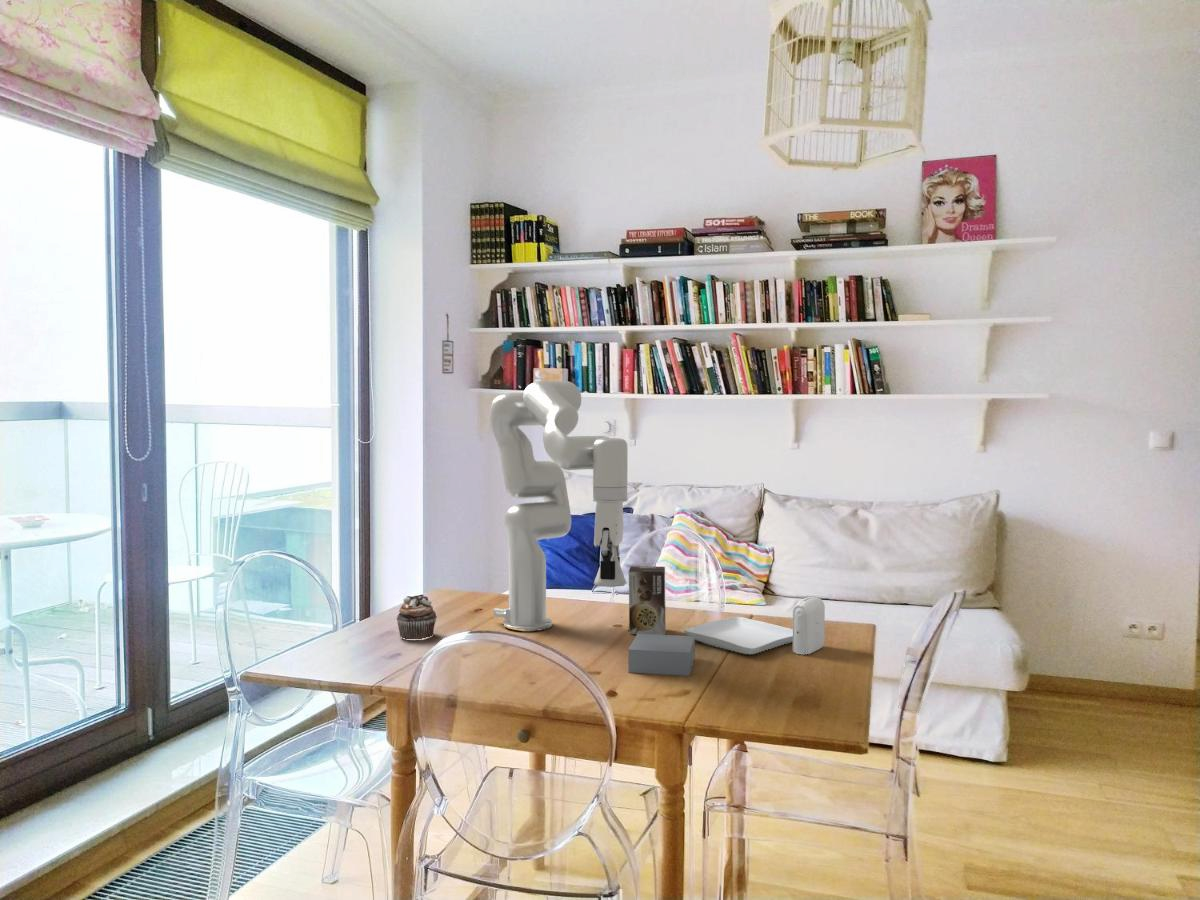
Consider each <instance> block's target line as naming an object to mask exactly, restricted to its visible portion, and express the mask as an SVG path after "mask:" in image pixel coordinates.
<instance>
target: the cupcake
mask: <svg viewBox="0 0 1200 900" xmlns="http://www.w3.org/2000/svg"><path fill="white" fill-rule="evenodd" d="M398 612H399V613H398V614H397V617H396V623H397V627H398V631H399V637H400V638H401V637H402V638H405V639H422V638H426V637H430V636H432V635H433V636H434V632H435V631H434V630H435V625H436V622H437V613H436V611H435V610H434V609H433V605H432V600H431V599H429V597H428V596H424V594H419V595H414V596H410V595H409V596H408V595H407V596H406V597H403V604H402V605H401V606H400V608H399V610H398Z"/></svg>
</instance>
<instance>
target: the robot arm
mask: <svg viewBox="0 0 1200 900" xmlns="http://www.w3.org/2000/svg"><path fill="white" fill-rule="evenodd" d="M581 406H582V393H581V391H580V389H579V388H578V386H577V385H576V384H575V383H573V382H571V381H568V380H537V381H534V382H532V383H530V384H528V385H527V386H526V387H525V389H524V390H523V392H507V393H502V394H499V395H498V396H496V397H495V398H494V399H493V400H492V403H491V406H490V409H489V421H490V426H491V430H492V434H493V436H494V438H495V441H496V443H497V447H498V450H499V456H500V462H501V468H502V475H503V482H504V487H505V491H506V493H507V494H508V496H509V497H510V498H512V499H516V500H517V499H522V500H523V499H526V500H527V499H537V498H543V501H540V502H538V501H537V502H535V501H534V502H524V503H518V504H515V505H513V506H510V507H509V508H508V509H507V511H506V512H505V515H504V519H503V520H504V528H505V534H506V540H507V550H508V551H507V552H508V607H506V608H497V607H495V608H494V609H493V616H495V617H496V618H504V620H503V621H502V625H503V624H504V625H505V626H508V627H512V628H517V629H524V630H538V629H544V630H546V628H547V629H549V628H551V627H552V626H553V620H552V619H551V618H549V617H547V561H546V560H547V558H546V554H545V552H544V550H543V549H542V547H541V545H539V542H538V541H540V540H548V539H554V538H555V539H557V538H558V539H559V538H562V537H564V536H566V535H567V534H569V532H570V530H571V528H572V527H571V526H572V514H571V513H572V512H571V506H570V501H569V494H568V488H567V483H566V482H567V481H566V478H565V477H566V476H565V474H564V471H563V470H567V471H579V470H592V474H593V475H592V479H593V481H592V485H593V487H592V488H593V490H592V491H593V492H592V493H593V495H592V501H593V502H594V503H596V505H595V515H594V533H593V534H594V536H593V545H594V547H595V548H599V547H600V562H599V564H600V565H599V567H600V578H601V579H608V580H614V579H615V561H614V548H615V547H616V551H617V557H618V560H619V563H620V564H621V560H620V559H621V557H620V544H621V543H622V541H623V538H624V509H623V508H624V505H623V504H624V503H626V502H628V442H627V441H626V440H625V439H623V438H619V437H610V436H609V437H608V436H604V435H574V436H572V435H571V436H569V435H570V434H571V433H573V431H574V430H575V428H576V427H577V425H578V422H579V413H578V411H579V410H580V408H581ZM519 426H542V427H543V432H542V441H543V446H544V449H545V452H546V454H547V456H549V458H551V460H552V461H549V460H542V461H541V460H539V461H538V460H536V459H535V456H534V451H533V445H532V442H531V441H530V439H529V437H528V435H527V434H525V432H524V431H522V430H521V429H520V427H519ZM562 469H563V470H562ZM608 544H611V545H612V547H608ZM610 550H611V552H610ZM538 631H539V630H538Z"/></svg>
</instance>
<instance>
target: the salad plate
mask: <svg viewBox="0 0 1200 900" xmlns="http://www.w3.org/2000/svg"><path fill="white" fill-rule="evenodd" d="M683 632H684V634H685V635H686V636H695V640H696V641H697V642H701V643H702V642H703V644H704V643H706V644H705V645H707V644H709V645H708V646H711V645H713V646H712V647H714V646H717V647H716V648H718V647H720V648H719V649H722V648H724V649H723V650H726V649H727V651H729V650H731V651H730V652H733V651H735V652H734V653H737V652H739V653H738V654H741V653H742V655H747V654H748V655H749V656H751V655H756V653H757V654H760V653H763V652H766V651H765V650H767V651H769V650H768V649H770V650H773V649H775V647H776V648H779V647H781V645H782V646H784V644H785V645H787V644H788V645H789V644H790V643H793V628H789V627H786V626H781V625H779V624H778V625H777V624H773V623H769V622H765V621H761V620H756V619H751V618H747V617H744V616H743V617H742V616H736V615H735V616H732V617H727V618H723V619H719V620H718V619H717V620H713V621H709V622H705V623H701V624H698V625H694V626H690V627H687V628H683ZM778 646H779V647H778ZM772 648H773V649H772ZM762 651H763V652H762ZM759 652H760V653H759ZM748 655H747V656H748Z"/></svg>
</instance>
